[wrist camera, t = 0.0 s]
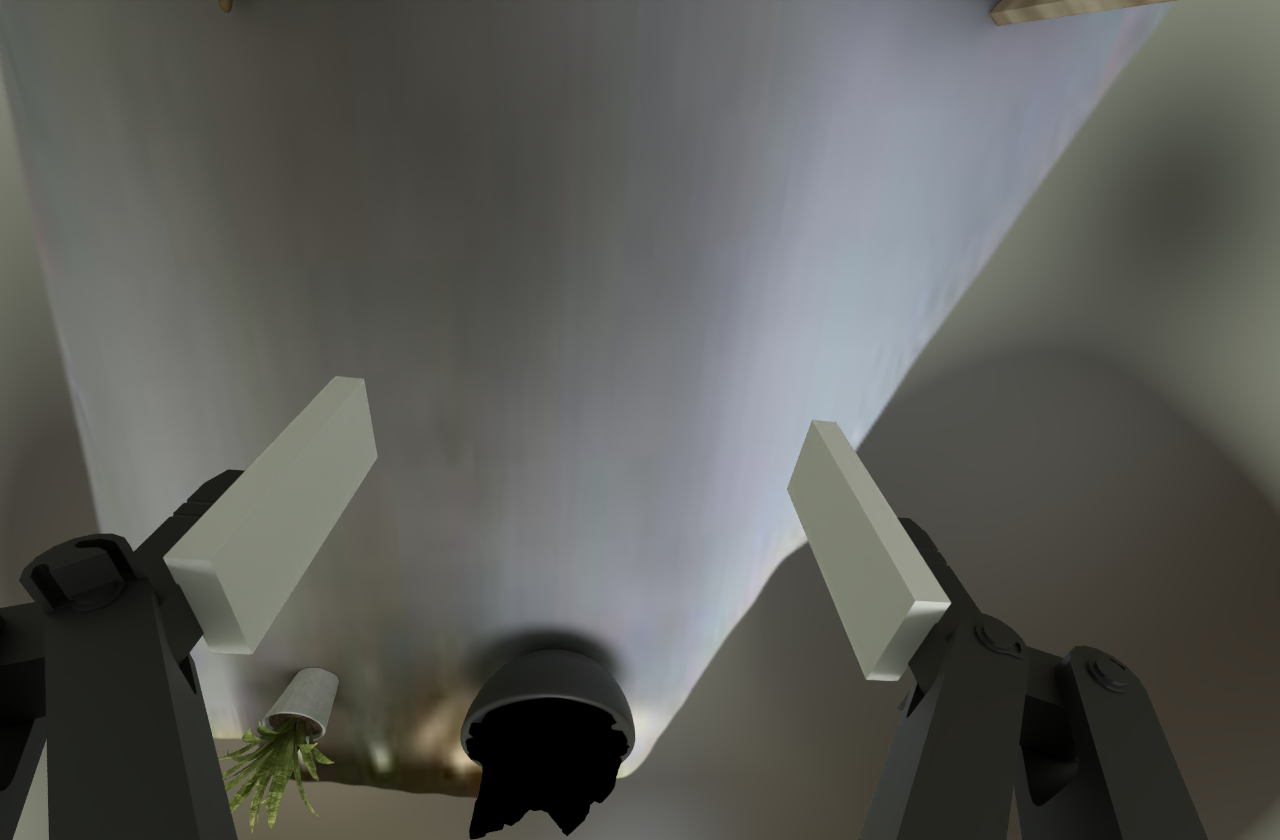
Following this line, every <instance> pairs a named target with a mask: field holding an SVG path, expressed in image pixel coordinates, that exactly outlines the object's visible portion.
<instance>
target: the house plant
mask: <svg viewBox="0 0 1280 840" xmlns="http://www.w3.org/2000/svg"><path fill="white" fill-rule="evenodd" d="M338 684H339V680H338V677H337V676H336V675H335V674H333V673H331V672H329V671H327V670H324V669H321V668H305V669H302V670H301V671H299V672H298V673H297V675H296V676H295V677H294V679H293V680H292V681H291V683H290V684H289V685H288V687H287V688H286V689H285V691H284V692H283V693H282V695H281V696H280V697H279V699H278V700H277V701H276V703H275V704H274V705H273V707H272V708H271V709H270V711H269V712H268V713H267V715H266V716H265V717H264V719H263V721H262V724H263V726H262V725H261V723H260V720H259V726H258V729H257V730H258V733H260V734H261V735H263V736H262V737H260V738H257V737H256V736H254V735H252V733H251V731H250V728H251V727H250V728H249V730H248V731H247V732H246V733H245V734H244V735H243V737H242V740H243V741H244V742H249V743H250V742H253V743H251V744H249V745H248V746H246V747H244V748H242V749H240V750H238V751H236V752H234V753H231V754H228V752H227V754H228V755H227V756H224V757H221V758H218V761H219V760H226V759H230V758H233V759H234V760H235V761H237V762H240V763H239V764H238V765H236V766H235V767H233V768H232V769H230V770H228V771H227V772H225V773H223V774H222V777H223V780H226V779H228V778H224V777H225V776H227V775H229V774H230V773H232V772H234V771H235V770H236V769H238V768H239V767H240V766H242V765H243V764H244V763H245V762H247V761H251V760H253V759H255V758H257V757H258V758H257V759H256V760H255V761H253V762H252V763H251V764H249V765H248V766H246V767H245V768H243V769H242V770H241V771H239V772H238V773H236V774H235V775H237V774H239V773H240V772H242V771H243V770H245V769H246V768H248V767H249V766H250V767H249V768H248V769H246V770H245V771H244V772H243V773H241V774H240V775H239V776H237V777H236V778H235V779H233V780H232V781H230V782H229V783H228V784H226V785H224V786H225V790H226V791H227V790H229V789H230V788H232V787H234V786H235V785H236V784H237V783H238V782H239V781H241V780H242V779H243V778H244V777H245V776H247V775H248V774H249V773H250V772H251V771H252V770H254V769H255V768H256V767H257V766H258V765H259V764H260V765H259V766H258V767H257V769H256V770H255V772H254V773H253V775H252V776H251V777H250V778H249V779H248V780H247V782H246V783H245V784H244V785H243V786H242V788H241V789H240V790H239V791H238V793H237V794H236V795H235V796H234V798H233V799H232V800H231V801H230V802H229V806H230V810H231V814H232V813H233V812H234V811H235V810H236V809H237V807H238V806H239V805H240V804H241V803H242V801H243V800H244V799H245V798H246V797H247V796H248V795H249V793H250V792H251V791H252V790H253V789H254V787H255V786H257V785H258V787H257V790H256V792H255V795H254V797H253V800H252V804H251V808H250V827H251V831H252V833H253V827H254V819H255V813H256V809H257V807H258V813H257V822H258V815H259V808H260V805H261V804H262V803H264V802H266V809H267V814H268V824H269V826H270V827H271V829H273V826H274V823H275V820H276V815H277V812H278V808H279V804H280V800H281V797H282V794H283V791H284V788H285V785H286V783H287V782H288V780H289V778H290V776H291V774H292V771H293V770H294V774H295V778H296V783H297V786H298V789H299V793H300V795H301V798H302V800H303V802H304V803H305V805H306V806H307V808H308V809H309V810H310V811H311V812H312V813H313V814H315V815H317V816H319V815H318V814H317V813H315V812H314V810H313V809H312V808H311V806H310V805H309V803H308V801H307V798H306V796H305V793H304V790H303V786H302V782H301V775H300V769H299V762H298V754H297V752H298V750H299V749H300V751H301V754H302V757H303V761H304V763H305V765H306V766H307V768H308V770H309V772H310V774H311V775H312V776H313V778H315V779H316V780H317V781H319V779H318V776H317V774H316V767H315V764H314V762H313V760H312V758H311V755H310V751H311V752H312V754H313V756H314V757H315V759H316V760H317V761H318V762H320V763H323V764H330V763H334V762H332V761H330V760H329V759H328V758H327V757H325V756H324V755H323V754H322V753H321V752H320V751H319V750H318V749H317V748H316V747H315V745H316V744H317V743H316V744H314V742H313V741H315V740H318V739H320V738H321V737H322V736H323V735H324V733H325V731H326V727H327V723H328V720H329V716H330V713H331V709H332V706H333V702H334V698H335V695H336V691H337V688H338ZM262 740H268V741H267V742H266V743H265V744H263V745H262V746H261V747H260V748H258V749H257V750H256V751H255V752H253V753H251V754H248V755H246V756H240V757H235V756H237V755H239V754H242V753H244V752H245V751H247V750H249V749H250V748H252V747H253V746H255V745H256V744H258V743H259V742H261V741H262ZM307 742H309V744H307ZM260 755H261V756H260ZM259 756H260V757H259ZM295 767H296V771H295ZM274 773H275V774H274ZM273 774H274V777H273V780H272V783H271V786H270V790H269V793H268V797H267V799H265V800H264V801H263V802H261V800H262V797H263V794H264V790H265V788H266V786H267V783H268V782H269V779H270V778H271V776H272V775H273ZM235 775H234V776H235ZM319 782H320V781H319ZM258 825H259V823H258Z"/></svg>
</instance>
